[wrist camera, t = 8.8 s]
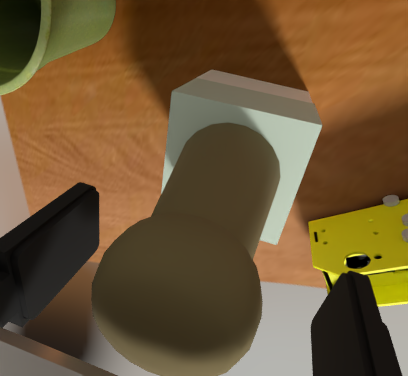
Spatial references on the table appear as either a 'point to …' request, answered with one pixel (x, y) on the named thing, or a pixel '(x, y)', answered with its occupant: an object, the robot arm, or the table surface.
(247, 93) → the block top
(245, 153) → the cork
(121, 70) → the table surface
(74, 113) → the table surface
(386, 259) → the yellow toy chassis
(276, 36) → the table surface
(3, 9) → the plant pot
